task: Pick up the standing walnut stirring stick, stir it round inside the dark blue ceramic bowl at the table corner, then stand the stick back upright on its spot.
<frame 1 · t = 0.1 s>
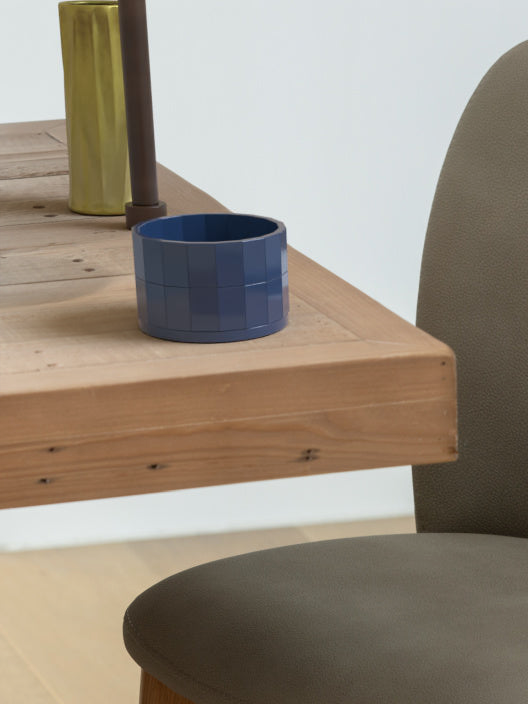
vase: (112, 210, 113), on the table
bowl: (214, 322, 84), on the table
stir stick: (147, 226, 107), on the table
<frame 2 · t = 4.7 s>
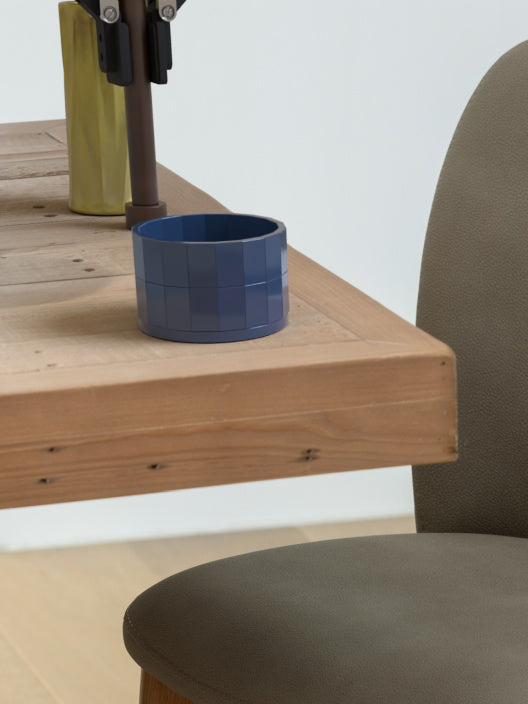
hand: (137, 81, 104), 10 cm above the table, tool pointing down, fingers closed on stir stick
stir stick: (147, 226, 107), on the table, touching gripper
everything else where it was.
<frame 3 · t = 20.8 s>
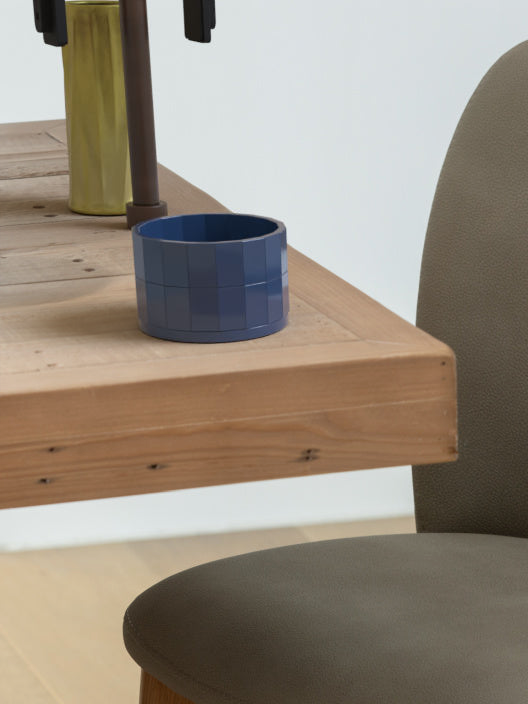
hand: (128, 43, 102), 12 cm above the table, tool pointing down, fingers open, 9 cm apart
stir stick: (147, 226, 107), on the table
everything else where it was.
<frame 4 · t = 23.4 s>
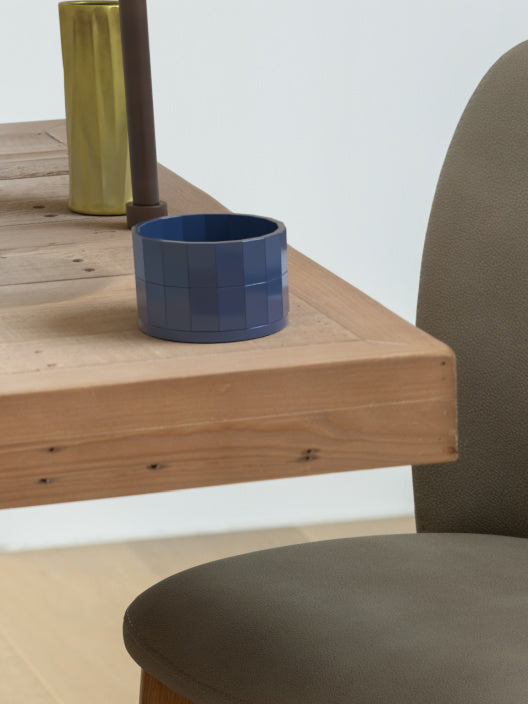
nothing on the table moved.
at the end: stir stick 0.1 cm from the target spot on the table beside the bowl, on the table; stir stick tilted 0°; the gripper is holding nothing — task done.
